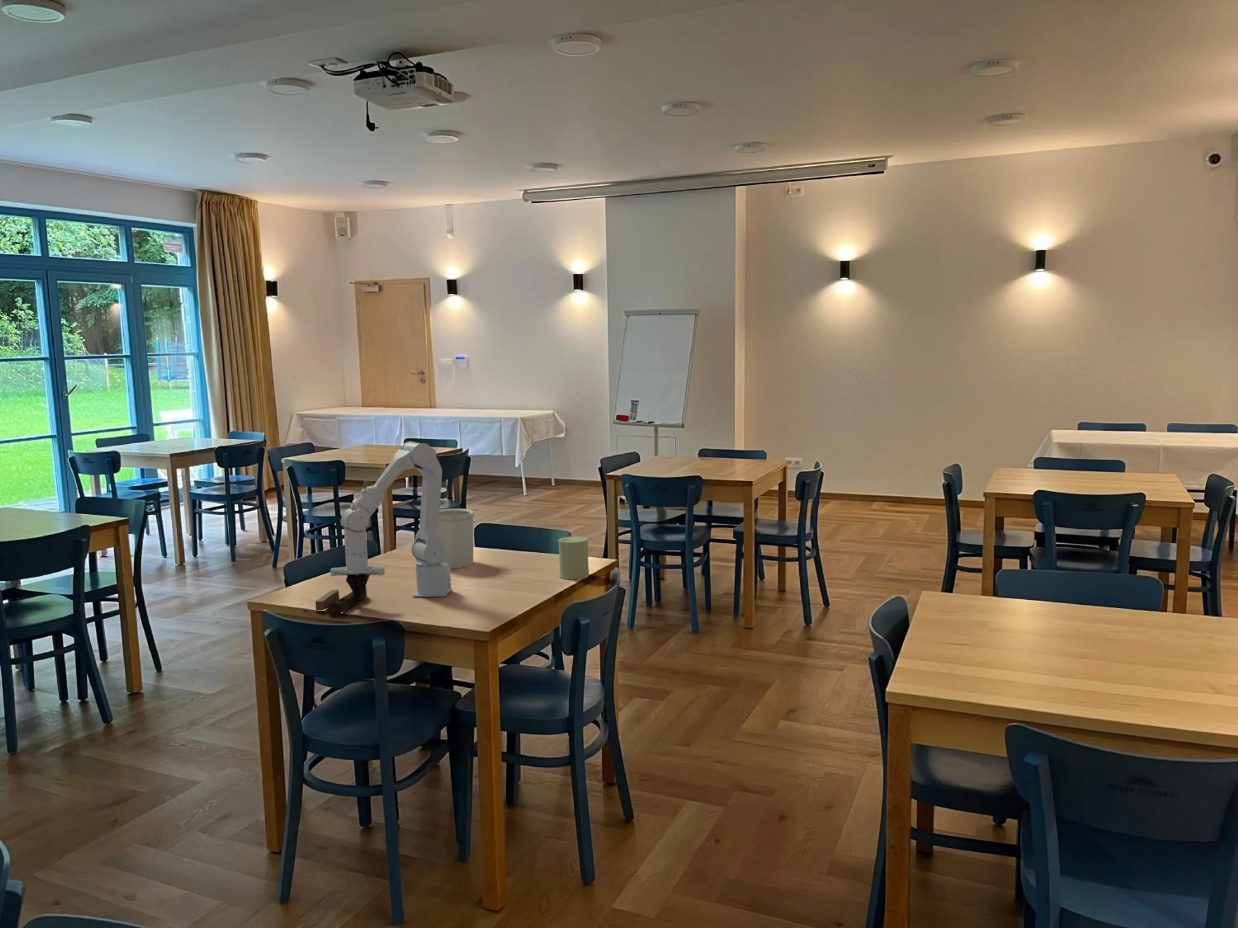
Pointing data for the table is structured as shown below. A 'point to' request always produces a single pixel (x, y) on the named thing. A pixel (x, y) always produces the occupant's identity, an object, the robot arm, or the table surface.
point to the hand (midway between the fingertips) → (359, 600)
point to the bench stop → (327, 599)
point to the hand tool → (343, 604)
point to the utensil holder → (456, 537)
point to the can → (573, 557)
